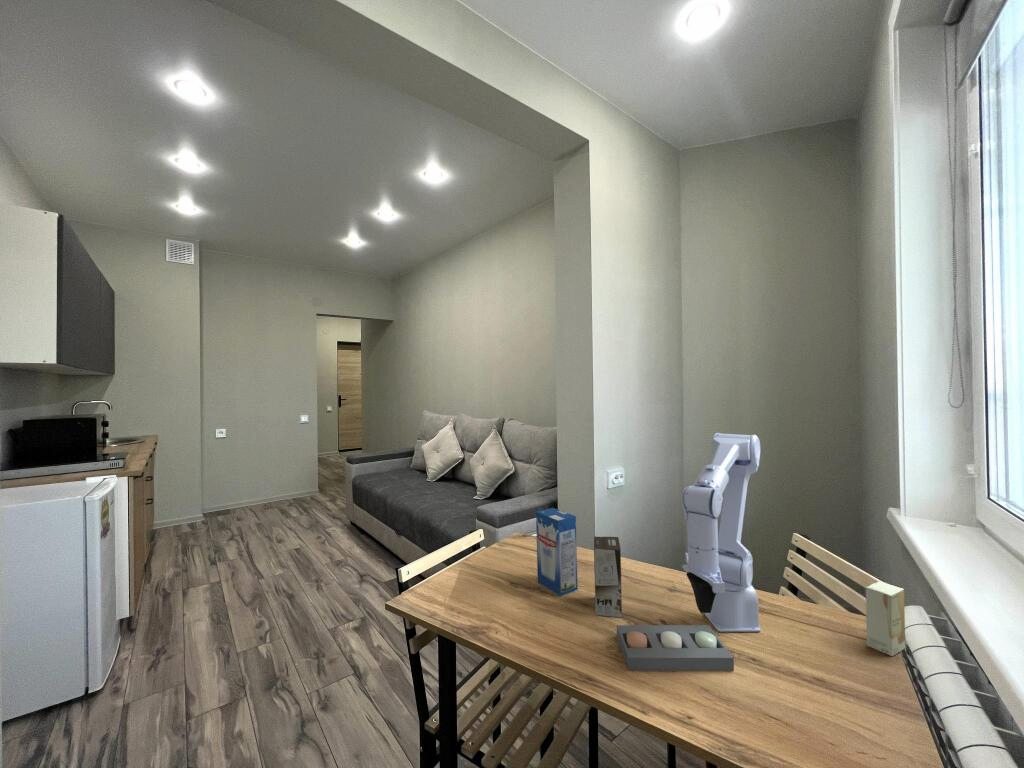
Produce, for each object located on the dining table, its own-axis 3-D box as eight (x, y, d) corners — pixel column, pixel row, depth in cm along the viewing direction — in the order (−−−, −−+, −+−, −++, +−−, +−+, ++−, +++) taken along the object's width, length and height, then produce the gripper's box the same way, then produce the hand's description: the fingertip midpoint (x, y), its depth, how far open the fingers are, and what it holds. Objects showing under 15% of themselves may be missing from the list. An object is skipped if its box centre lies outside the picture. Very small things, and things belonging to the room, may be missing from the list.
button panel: (709, 636, 92) (709, 625, 92) (734, 670, 81) (733, 657, 81) (616, 636, 92) (616, 625, 92) (628, 670, 81) (628, 657, 81)
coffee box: (622, 618, 100) (621, 550, 100) (595, 615, 101) (593, 548, 101) (620, 598, 109) (619, 536, 109) (595, 596, 110) (593, 535, 110)
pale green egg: (711, 645, 88) (711, 631, 88) (720, 658, 84) (719, 643, 84) (692, 645, 88) (691, 631, 88) (700, 657, 84) (699, 643, 84)
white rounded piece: (677, 645, 88) (677, 631, 88) (684, 657, 84) (684, 642, 84) (658, 645, 89) (658, 631, 89) (664, 657, 85) (664, 642, 85)
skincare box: (892, 657, 83) (890, 596, 83) (865, 646, 87) (864, 587, 87) (907, 647, 86) (905, 588, 86) (880, 636, 90) (879, 579, 90)
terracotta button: (644, 645, 89) (643, 631, 89) (649, 657, 85) (649, 642, 85) (625, 645, 89) (624, 631, 89) (629, 657, 85) (629, 642, 85)
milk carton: (577, 590, 114) (576, 516, 114) (560, 596, 110) (558, 520, 110) (554, 576, 122) (553, 507, 122) (537, 582, 119) (535, 511, 119)
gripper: (671, 532, 94) (672, 593, 94) (697, 559, 79) (699, 631, 79) (703, 532, 94) (704, 593, 94) (735, 559, 79) (737, 631, 79)
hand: (704, 611), depth 86 cm, fingers closed
